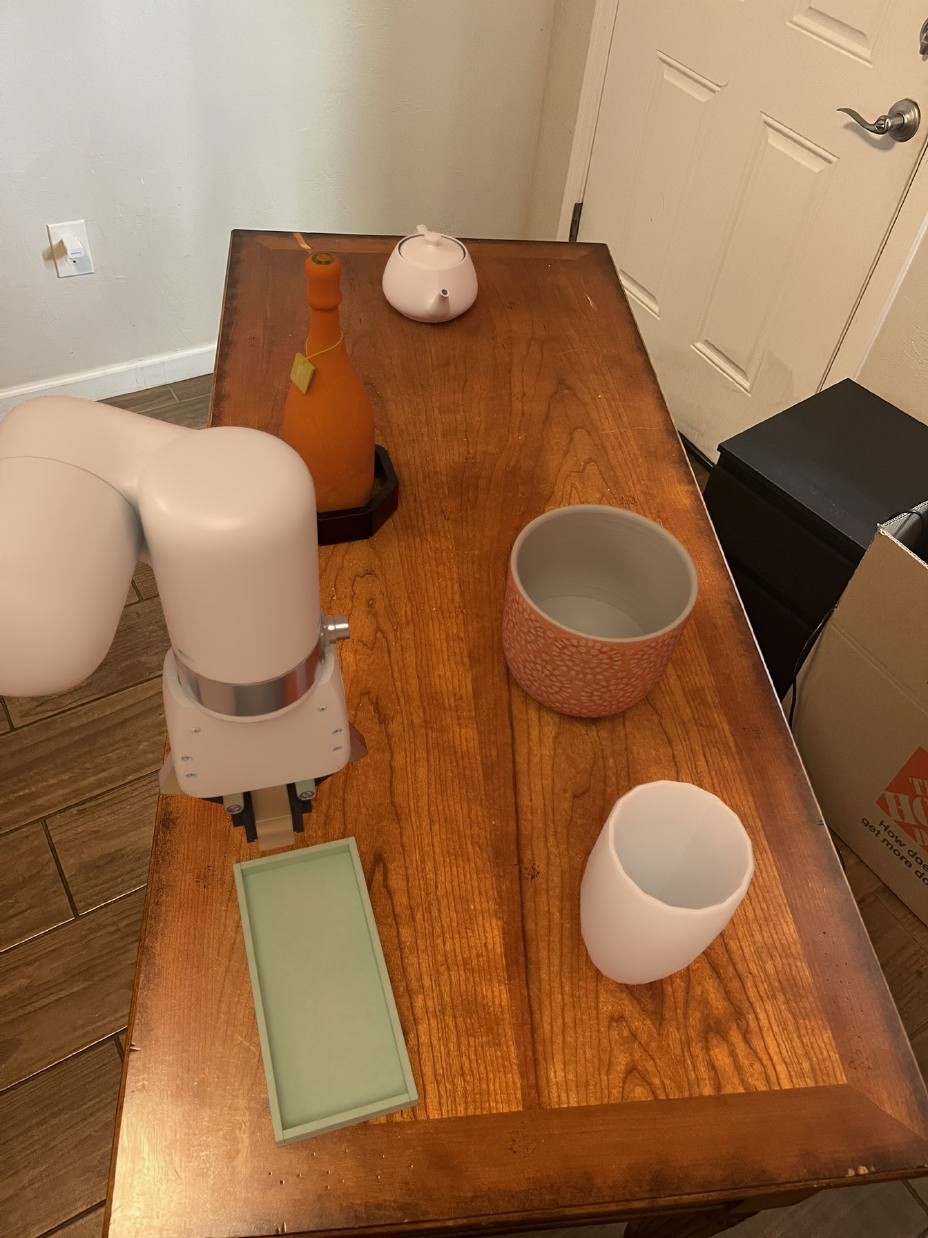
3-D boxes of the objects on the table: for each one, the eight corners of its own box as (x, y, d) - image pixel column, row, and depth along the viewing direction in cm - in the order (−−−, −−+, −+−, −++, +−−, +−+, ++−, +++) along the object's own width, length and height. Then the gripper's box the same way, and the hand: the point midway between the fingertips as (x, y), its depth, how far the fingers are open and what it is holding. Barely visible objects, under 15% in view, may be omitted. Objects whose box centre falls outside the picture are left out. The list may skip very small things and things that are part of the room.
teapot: (373, 268, 142) (374, 198, 134) (462, 266, 145) (468, 198, 137) (393, 353, 129) (395, 281, 120) (490, 350, 131) (499, 278, 123)
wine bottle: (295, 467, 112) (277, 225, 89) (378, 474, 112) (380, 235, 90) (282, 525, 106) (259, 280, 83) (370, 532, 106) (370, 290, 83)
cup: (523, 973, 75) (567, 849, 59) (596, 881, 81) (654, 745, 65) (632, 1063, 72) (710, 958, 55) (700, 960, 77) (790, 838, 61)
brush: (342, 834, 64) (341, 805, 61) (250, 853, 63) (245, 824, 60) (299, 635, 75) (297, 602, 72) (220, 647, 74) (214, 614, 71)
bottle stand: (280, 552, 103) (277, 526, 100) (259, 467, 112) (256, 440, 109) (407, 533, 107) (408, 507, 103) (377, 451, 115) (378, 425, 112)
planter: (477, 615, 99) (492, 509, 88) (629, 600, 103) (663, 496, 91) (513, 751, 89) (535, 651, 77) (682, 730, 92) (727, 631, 80)
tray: (277, 1148, 66) (275, 1142, 65) (234, 874, 79) (232, 864, 77) (417, 1105, 69) (418, 1098, 67) (354, 846, 81) (354, 836, 80)
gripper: (385, 574, 53) (379, 749, 67) (84, 616, 49) (144, 793, 63) (416, 679, 49) (402, 844, 63) (87, 735, 45) (151, 897, 59)
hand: (272, 817), depth 63 cm, fingers closed on brush, 2 cm apart
